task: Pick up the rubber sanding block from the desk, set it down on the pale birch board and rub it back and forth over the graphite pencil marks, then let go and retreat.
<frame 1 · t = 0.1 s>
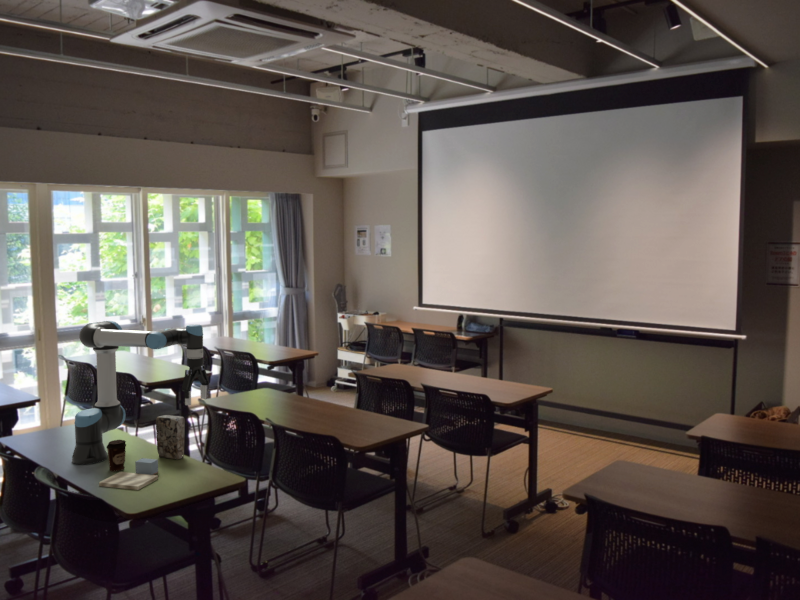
hand: (196, 401, 318), 28 cm above the table, fingers open, 13 cm apart
sanding block: (147, 473, 300), on the table
stone block: (170, 457, 323), on the table
board: (128, 482, 289), on the table
coffee cup: (117, 470, 305), on the table
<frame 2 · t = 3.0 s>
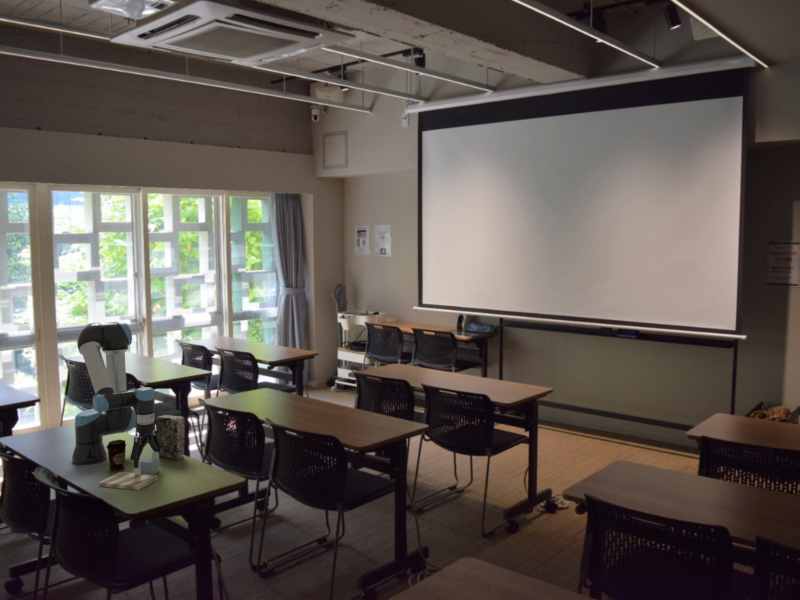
hand: (146, 470, 299), 2 cm above the table, fingers open, 12 cm apart
nothing on the table moved.
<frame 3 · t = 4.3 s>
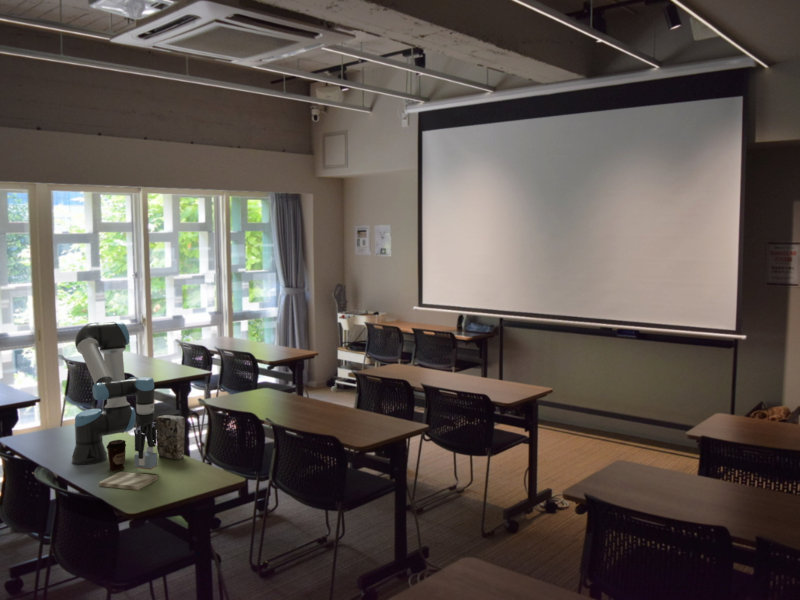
hand: (146, 462, 300), 5 cm above the table, fingers closed on sanding block, 5 cm apart
sanding block: (146, 466, 300), point 3 cm above the table, touching gripper
everything else where it was.
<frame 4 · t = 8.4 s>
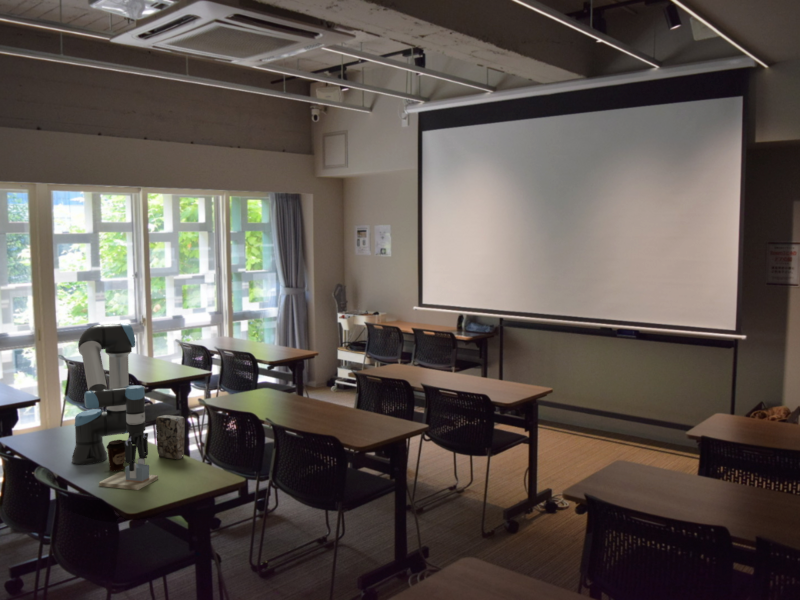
hand: (137, 475, 287), 3 cm above the table, fingers closed on sanding block, 5 cm apart
sanding block: (137, 479, 287), point 2 cm above the table, touching gripper
everything else where it was.
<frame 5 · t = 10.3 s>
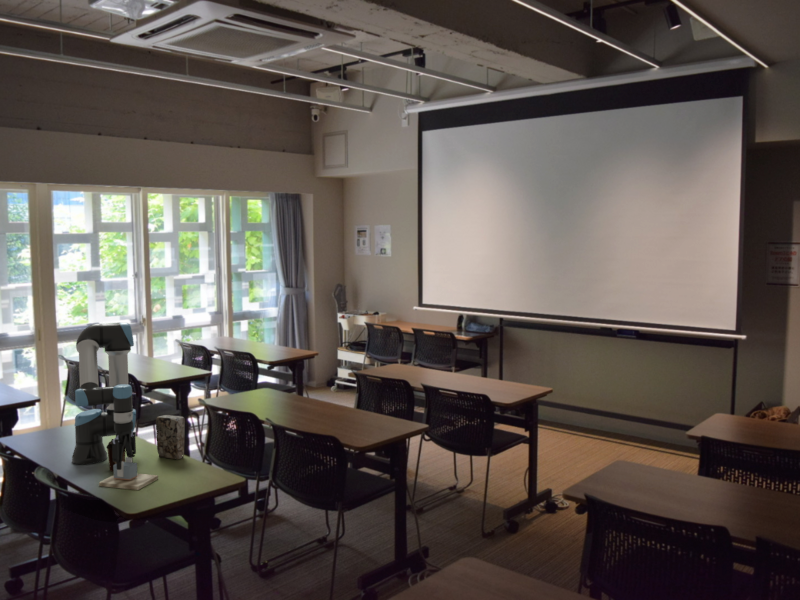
hand: (124, 474, 289), 3 cm above the table, fingers closed on sanding block, 5 cm apart
sanding block: (125, 477, 289), point 2 cm above the table, touching gripper
everything else where it was.
when the fingers open (3 cm above the table, at t = 12.2 s): sanding block stays where it is, resting on board.
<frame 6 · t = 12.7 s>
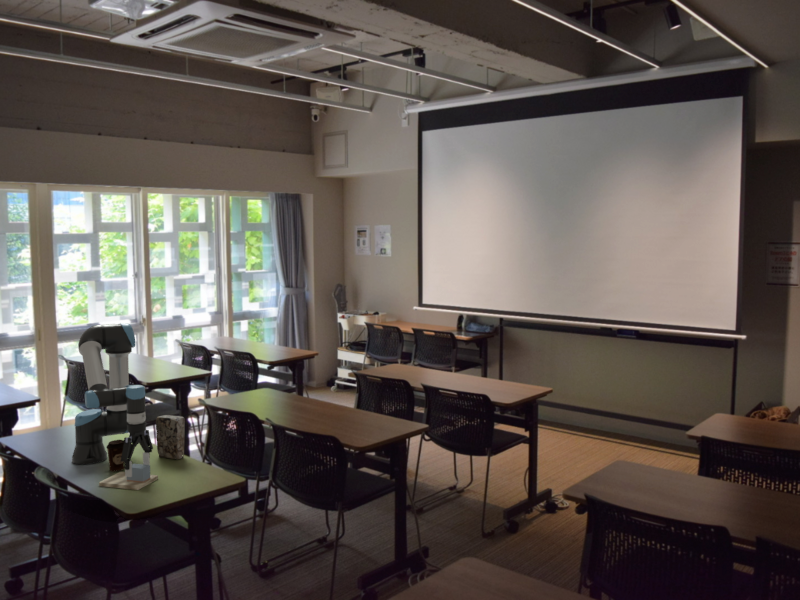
hand: (137, 471, 287), 5 cm above the table, fingers open, 11 cm apart
sanding block: (138, 479, 287), point 2 cm above the table, touching board
everything else where it was.
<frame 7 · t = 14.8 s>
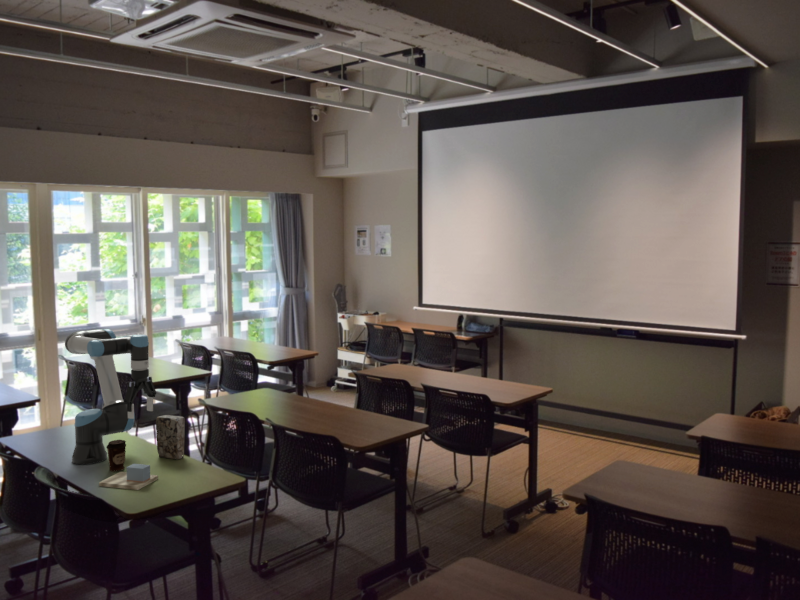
hand: (140, 414, 307), 25 cm above the table, fingers open, 13 cm apart
nothing on the table moved.
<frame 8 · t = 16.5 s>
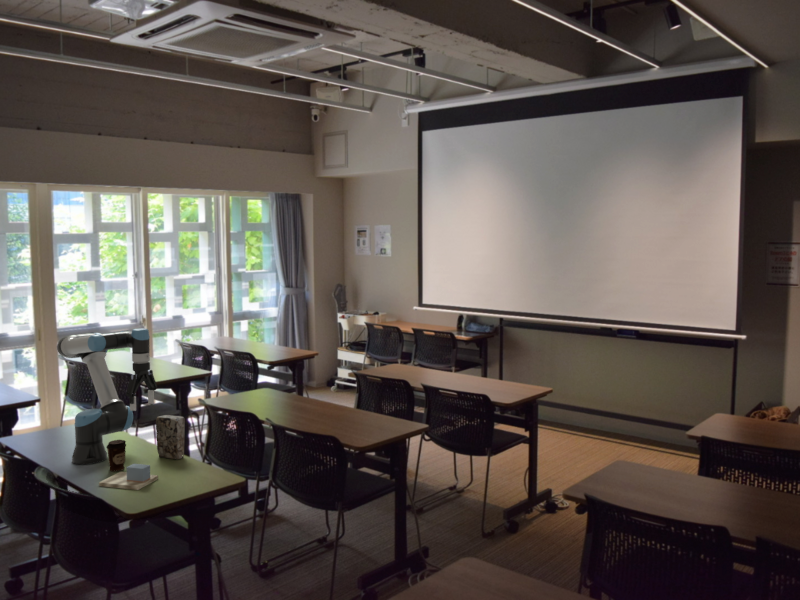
hand: (142, 407, 312), 27 cm above the table, fingers open, 13 cm apart
nothing on the table moved.
at the end: sanding block inside the target area (3.8 cm from its centre), point 1.5 cm above the table; sanding block tilted 0°; the gripper is holding nothing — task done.
